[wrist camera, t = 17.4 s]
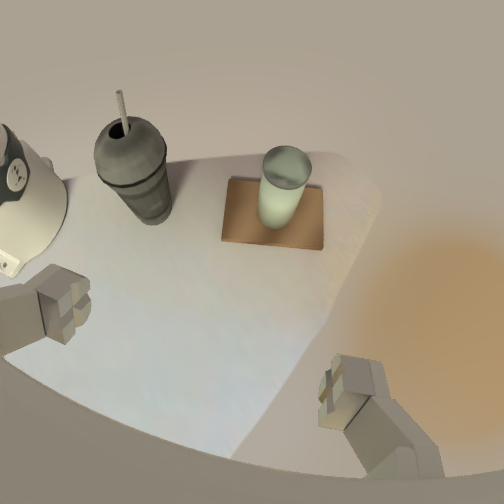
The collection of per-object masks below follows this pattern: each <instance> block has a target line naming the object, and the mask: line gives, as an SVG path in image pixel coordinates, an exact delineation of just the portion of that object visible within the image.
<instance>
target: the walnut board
mask: <svg viewBox="0 0 504 504" xmlns="http://www.w3.org/2000/svg"><path fill="white" fill-rule="evenodd" d="M260 183H261V182H254V181H243V180H232V179H229V181H228V189H227V197H226V205H225V213H224V221H223V229H222V237H221V239H222V241H226V242H237V243H248V244H259V245H269V246H280V247H291V248H301V249H312V250H322V249H323V189H317V188H309V187H305V188H304V190H303V193H302V195H301V198H300V200H299V203H298V205H297V208H296V210H295V213H294V215H293V218H292V220H291V222H290V223H289V224H288V225H287V226H285V227H283V228H280V229H272V228H268V227H266V226H264V225H263V224H262V223H261V222H260V221H259V219H258V217H257V214H256V208H257V202H258V195H259V189H260Z"/></svg>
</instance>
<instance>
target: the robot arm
mask: <svg viewBox="0 0 504 504" xmlns="http://www.w3.org/2000/svg"><path fill="white" fill-rule="evenodd" d="M66 207H67V193H66V189H65V186H64V184H63V182H62V181H61V179H60V178H59V177H58V176H57V175H56V174H55V173H54V169H53V164H52V162H51V161H50V159H49V158H47V157H43V158H41V157H40V156H39V155H38V154H37V153H36V152H35V151H34V150H33V149H32V148H31V147H30V146H29V145H28V144H27V143H26V142H25V141H23V140H20V141H19V140H18V139H17V136H16V135H15V134H14V133H13V132H12V131H11V130H10V129H9V128H8V127H7V126H6V125H4V124H1V123H0V273H2V274H4V275H6V276H8V277H10V278H12V277H14V276H16V275H17V274H18V272H19V271H20V270H21V269H22V267H23V266H24V265H25V263H26V262H28V261H29V260H30V259H32V258H34V257H35V256H37V255H38V254H40V253H41V252H42V251H43V250H44V249H45V248H46V247H47V246H48V245H49V244H50V243H51V241H52V240H53V239H54V237H55V236H56V234H57V232H58V231H59V229H60V227H61V224H62V222H63V219H64V216H65V212H66ZM6 264H7V266H6ZM89 290H90V280H89V279H88V278H87V277H84V276H82V275H80V274H77V273H75V272H73V271H70V270H68V269H66V268H63V267H60V266H58V265H56V264H50V265H49V266H47V267H46V268H45V269H43V270H42V271H41V272H39V273H38V274H37V275H35V276H34V277H33V278H31V279H30V280H29V281H28V282H26V283H25V284H24V285H23V284H21V283H20V284H16V285H11V286H7V287H2V288H0V504H504V469H503V470H498V471H492V472H486V473H480V474H472V475H465V476H455V477H445V475H444V471H443V466H442V462H441V457H440V453H439V449H438V446H437V445H436V444H435V443H434V442H433V441H432V440H431V439H430V437H429V436H428V435H427V434H426V433H425V432H424V431H423V430H422V429H421V427H420V426H419V425H418V424H417V423H416V422H415V421H414V420H413V419H412V418H411V417H410V415H409V414H408V413H407V412H406V411H405V410H404V409H403V408H402V407H401V406H400V405H399V403H398V402H397V401H396V400H395V399H391V397H390V393H389V388H388V384H387V380H386V376H385V371H384V367H383V364H382V362H381V361H376V360H370V359H363V358H358V357H353V356H348V355H343V354H339V353H337V354H336V355H335V356H334V358H333V360H332V361H331V369H330V370H328V371H326V372H325V374H324V376H323V378H322V380H321V384H320V387H319V393H318V399H319V401H320V402H321V403H322V405H321V407H320V408H319V410H318V426H319V427H324V428H329V429H335V430H341V431H343V433H344V435H345V436H346V438H347V440H348V441H349V443H350V445H351V447H352V448H353V450H354V452H355V453H356V455H357V457H358V458H359V460H360V462H361V463H362V465H363V467H364V468H365V470H366V472H367V475H366V476H365V477H364V478H362V479H358V478H344V477H332V476H322V475H313V474H306V473H299V472H292V471H286V470H280V469H274V468H269V467H264V466H259V465H254V464H249V463H245V462H240V461H236V460H232V459H228V458H224V457H220V456H216V455H212V454H209V453H205V452H202V451H198V450H195V449H192V448H188V447H185V446H182V445H179V444H176V443H173V442H170V441H167V440H164V439H161V438H158V437H156V436H153V435H150V434H148V433H145V432H142V431H140V430H137V429H135V428H132V427H130V426H127V425H125V424H123V423H120V422H118V421H116V420H113V419H111V418H109V417H107V416H104V415H102V414H100V413H98V412H96V411H94V410H91V409H89V408H87V407H85V406H83V405H81V404H79V403H77V402H75V401H73V400H71V399H69V398H68V397H66V396H64V395H62V394H60V393H58V392H56V391H55V390H53V389H51V388H49V387H48V386H46V385H44V384H42V383H41V382H39V381H37V380H36V379H34V378H32V377H31V376H29V375H27V374H26V373H24V372H23V371H21V370H19V369H18V368H16V367H15V366H13V365H12V364H10V363H9V362H7V361H6V360H5V359H4V355H6V354H8V353H11V352H13V351H15V350H18V349H20V348H22V347H24V346H27V345H29V344H31V343H33V342H36V341H38V340H40V339H42V338H45V337H46V336H47V337H49V338H51V339H53V340H55V341H58V342H60V343H62V344H64V345H66V344H67V342H68V341H69V340H70V339H71V338H72V337H73V335H74V334H75V328H76V327H79V326H82V325H83V324H84V323H85V322H86V320H87V319H88V316H89V314H90V310H91V299H90V298H89V296H88V294H87V292H88V291H89Z"/></svg>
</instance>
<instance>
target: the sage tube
mask: <svg viewBox="0 0 504 504" xmlns="http://www.w3.org/2000/svg"><path fill="white" fill-rule="evenodd" d="M262 168H263V170H262V176H261V183H260V189H259V195H258V202H257V208H256V214H257V217H258V219H259V221H260V222H261V223H262V224H263V225H264V226H266V227H268V228H272V229H280V228H283V227H285V226H287V225H288V224H289V223H290V222H291V220H292V218H293V215H294V213H295V210H296V208H297V205H298V203H299V200H300V198H301V195H302V193H303V190H304V188H305V185H306V183H307V181H308V179H309V177H310V174H311V171H312V165H311V162H310V160H309V158H308V157H307V155H306V154H305V153H304V152H302V151H301V150H299V149H297V148H295V147H292V146H278V147H275V148H273V149H271V150H270V151H268V152H267V154H266V155H265V157H264V160H263V167H262Z"/></svg>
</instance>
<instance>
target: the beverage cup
mask: <svg viewBox="0 0 504 504" xmlns="http://www.w3.org/2000/svg"><path fill="white" fill-rule="evenodd" d="M116 95H117V100H118V105H119V110H120V115H121V118H119V119H117V120H114V121H113V122H111V123H110V124H108V125H107V126H106V127H105V128H104V129H103V130H102V131H101V133H100V135H99V137H98V139H97V140H96V143H95V149H94V160H95V165H96V169H97V173H98V176H99V177H100V179H101V180H102V181H103V182H104V183H105V184H107V185H108V186H109V187H110V188H111V189H113V190H114V191H116V192H117V194H118V195H119V196H120V197H121V198H122V200H123V201H124V202H125V203H126V204H127V206H128V207H129V208H130V209H131V210H132V212H133V213H134V214H135V215H136V216H137V218H139V219H140V220H141V221H142V222H143V223H145V224H146V225H151V226H152V225H158V224H160V223H162V222H164V221H165V220H166V219H167V218H168V216H169V215H170V212H171V197H170V190H169V184H168V178H167V171H166V155H167V146H166V143H165V141H164V139H163V137H162V136H161V135H160V132H159V131H158V129H156V128H155V127H154V126H153V125H152V124H151V123H150V122H149V121H146V120H144V119H142V118H139V117H130V116H128V117H127V116H126V111H125V105H124V100H123V94H122V90H118V91H116Z"/></svg>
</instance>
